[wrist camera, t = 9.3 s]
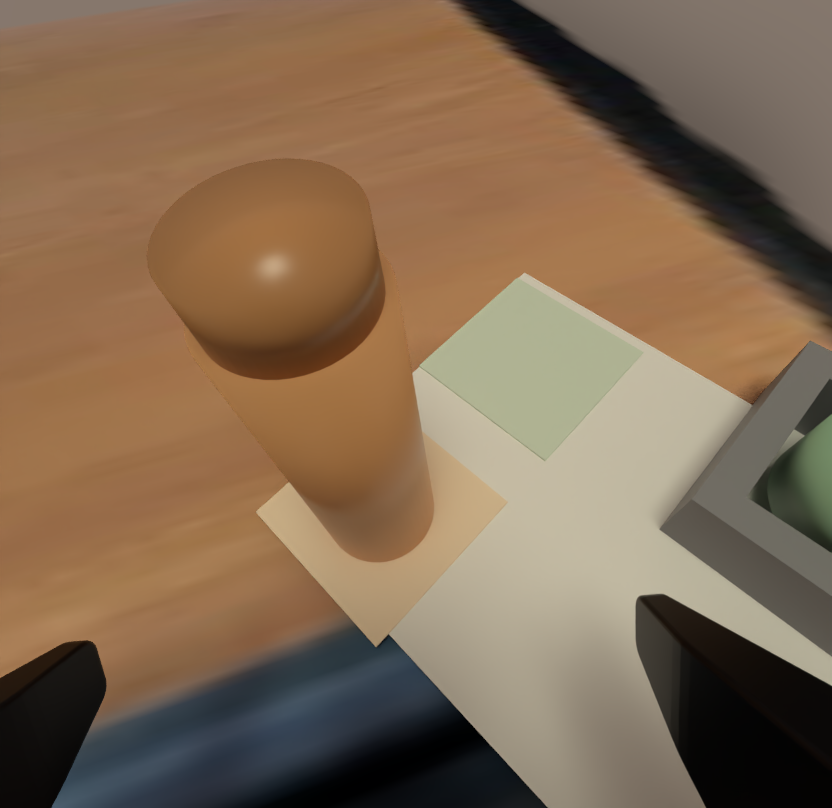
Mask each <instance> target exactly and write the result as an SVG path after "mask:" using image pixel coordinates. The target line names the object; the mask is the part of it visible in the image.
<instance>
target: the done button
mask: <svg viewBox="0 0 832 808" xmlns="http://www.w3.org/2000/svg"><path fill="white" fill-rule="evenodd" d="M767 493H768V500H769V504H770V507H771V511H772V513H773V515H775V516H776V517H778V518H779V519H781V520H782V521H784V522H785V523H787V524H788V525H790V526H791V527H793V528H794V529H796V530H797V531H799V532H800V533H802V534H803V535H805V536H806V537H808V538H810V539H811V540H813V541H814V542H816V543H817V544H819V545H820V546H822V547H823V548H825V549H826V550H828V551H829V552H831V553H832V414H831V415H830V416H829V417H827V418H826V419H825V420H824V421H822V422H821V423H820V424H819V425H817V426H816V427H815V428H814V429H813V430H811V431H810V432H809V433H808V434H806V435H805V436H804V437H803V438H801V439H800V440H799V441H798V442H796V443H795V444H794V445H793V446H792V447H790V448H789V449H788V450H787V451H785V452H784V453H783V454H782V455H781V456H780V457H779V458H778V459H777V460H776V461H775V463H774V465H773V467H772V468H771V471H770V474H769V478H768V484H767Z"/></svg>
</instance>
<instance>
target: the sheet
mask: <svg viewBox="0 0 832 808" xmlns="http://www.w3.org/2000/svg"><path fill="white" fill-rule="evenodd" d="M412 375H413V381H414V387H415V393H416V398H417V404H418V410H419V416H420V422H421V428H422V434H423V440H424V446H425V452H426V458H427V464H428V469H429V475H430V481H431V487H432V493H433V499H434V514H433V519H432V523H431V526H430V528H429V530H428V532H427V534H426V535H425V537H424V539H423V540H422V541H421V542H420V543H419V544H418V545H417V546H416V547H415V548H414V549H413V550H412V551H410V552H409V553H407V554H406V555H404V556H402V557H400V558H397V559H395V560H391V561H387V562H367V561H363V560H360V559H357V558H355V557H353V556H351V555H349V554H348V553H346V552H345V551H344V550H343V549H341V548H340V547H339V545H338V544H337V543H336V542H335V541H334V539H333V538H332V537H331V535H330V534H329V533H328V531H327V530H326V529H325V528H324V526H323V525H322V524H321V522H320V521H319V520H318V519H317V517H316V516H315V515H314V513H313V512H312V511H311V510H310V508H309V507H308V506H307V504H306V503H305V502H304V500H303V499H302V498H301V497H300V495H299V494H298V493H297V491H296V490H295V489H294V488H293V486H292V485H291V484H290V482H289V483H287V484H286V485H285V486H284V487H283V488H282V489H281V490H280V491H278V492H277V493H276V494H275V495H274V496H273V497H272V498H271V499H270V500H268V501H267V502H266V503H265V504H264V505H263V506H262V507H261V508H259V509H258V510H257V511H256V513H257V514H258V515H259V516H260V518H261V519H262V520H263V521H264V522H265V523H266V524H267V525H268V527H269V528H270V529H271V530H272V531H273V532H274V533H275V534H276V536H277V537H278V538H279V539H280V540H281V541H282V542H283V543H284V544H285V546H286V547H287V548H288V549H289V550H290V551H291V552H292V553H293V555H294V556H295V557H296V558H297V559H298V560H299V561H300V562H301V564H302V565H303V566H304V567H305V568H306V569H307V570H308V571H309V573H310V574H311V575H312V576H313V577H314V578H315V579H316V580H317V582H318V583H319V584H320V585H321V586H322V587H323V588H324V589H325V591H326V592H327V593H328V594H329V595H330V596H331V597H332V598H333V599H334V601H335V602H336V603H337V604H338V605H339V606H340V607H341V608H342V610H343V611H344V612H345V613H346V614H347V615H348V616H349V617H350V619H351V620H352V621H353V622H354V623H355V624H356V625H357V626H358V628H359V629H360V630H361V631H362V632H363V633H364V634H365V635H366V637H367V638H368V639H369V640H370V641H371V642H372V643H373V644H374V646H375V647H377V646H378V645H379V644H380V643H381V642H382V641H383V640H384V639H385V638H386V636H387V635H388V634H389V635H390V636H391V637H392V638H393V639H394V640H395V642H396V643H397V644H398V645H399V646H400V647H401V648H402V649H403V650H404V651H405V652H406V654H407V655H408V656H409V657H410V658H411V659H412V660H413V661H414V662H415V663H416V664H417V666H418V667H419V668H420V669H421V670H422V671H423V672H424V673H425V674H426V675H427V676H428V678H429V679H430V680H431V681H432V682H433V683H434V684H435V685H436V686H437V687H438V688H439V690H440V691H441V692H442V693H443V694H444V695H445V696H446V697H447V698H448V699H449V700H450V702H451V703H452V704H453V705H454V706H455V707H456V708H457V709H458V710H459V711H460V712H461V714H462V715H463V716H464V717H465V718H466V719H467V720H468V721H469V722H470V723H471V724H472V726H473V727H474V728H475V729H476V730H477V731H478V732H479V733H480V734H481V735H482V736H483V738H484V739H485V740H486V741H487V742H488V743H489V744H490V745H491V746H492V747H493V748H494V750H495V751H496V752H497V753H498V754H499V755H500V756H501V757H502V758H503V759H504V760H505V762H506V763H507V764H508V765H509V766H510V767H511V768H512V769H513V770H514V771H515V772H516V774H517V775H518V776H519V777H520V778H521V779H522V780H523V781H524V782H525V783H526V784H527V786H528V787H529V788H530V789H531V790H532V791H533V792H534V793H535V794H536V795H537V796H538V798H539V799H540V800H541V801H542V802H543V803H544V804H545V805H546V806H547V807H548V808H706V807H705V805H704V803H703V801H702V799H701V797H700V795H699V793H698V791H697V789H696V787H695V786H694V784H693V782H692V780H691V778H690V776H689V774H688V772H687V770H686V768H685V766H684V764H683V762H682V760H681V758H680V756H679V754H678V751H677V749H676V747H675V744H674V742H673V740H672V737H671V735H670V732H669V730H668V727H667V725H666V722H665V720H664V717H663V715H662V712H661V710H660V707H659V705H658V702H657V700H656V697H655V695H654V692H653V690H652V687H651V685H650V682H649V680H648V677H647V675H646V672H645V670H644V667H643V665H642V662H641V660H640V657H639V654H638V651H637V647H636V639H635V605H636V600H637V598H638V597H639V596H640V595H649V594H665V595H667V596H669V597H671V598H673V599H675V600H676V601H678V602H680V603H682V604H684V605H686V606H687V607H689V608H691V609H693V610H695V611H696V612H698V613H700V614H702V615H704V616H706V617H707V618H709V619H711V620H713V621H715V622H717V623H718V624H720V625H722V626H724V627H726V628H728V629H729V630H731V631H733V632H735V633H737V634H738V635H740V636H742V637H744V638H746V639H748V640H749V641H751V642H753V643H755V644H757V645H759V646H760V647H762V648H764V649H766V650H768V651H770V652H771V653H773V654H775V655H777V656H779V657H780V658H782V659H784V660H786V661H788V662H790V663H791V664H793V665H795V666H797V667H799V668H801V669H802V670H804V671H806V672H808V673H810V674H812V675H813V676H815V677H817V678H819V679H821V680H823V681H824V682H826V683H828V684H830V685H832V553H831V552H829V551H828V550H826V549H825V548H823V547H822V546H820V545H819V544H817V543H816V542H814V541H813V540H811V539H810V538H808V537H806V536H805V535H803V534H802V533H800V532H799V531H797V530H796V529H794V528H793V527H791V526H790V525H788V524H787V523H785V522H784V521H782V520H781V519H779V518H778V517H776V516H775V515H773V513H772V511H771V507H770V504H769V500H768V493H767V484H768V478H769V474H770V471H771V468H772V467H773V465H774V463H775V461H776V460H777V459H778V458H779V457H780V456H781V455H782V454H783V453H784V452H785V451H787V450H788V449H789V448H790V447H792V446H793V445H794V444H795V443H796V442H798V441H799V440H800V439H801V438H803V437H804V436H805V435H806V434H808V433H809V432H810V431H811V430H813V429H814V428H815V427H816V426H817V425H819V424H820V423H821V422H822V421H824V420H825V419H826V418H827V417H829V416H830V415H831V414H832V351H830V350H828V349H826V348H824V347H822V346H820V345H818V344H816V343H814V342H812V341H809V343H808V344H807V345H806V346H805V347H804V348H803V349H802V350H801V351H800V352H799V353H798V354H797V355H796V356H795V358H794V359H793V360H792V361H791V362H790V363H789V364H788V365H787V366H786V367H785V368H784V369H783V370H782V371H781V373H780V374H779V375H778V376H777V377H776V378H775V379H774V380H773V381H772V382H771V383H770V384H769V385H768V386H767V388H766V389H765V390H764V391H763V392H762V393H761V394H760V396H759V397H758V398H757V400H756V401H755V402H754V404H753V405H751V404H750V403H748V402H746V401H744V400H743V399H741V398H739V397H738V396H736V395H734V394H732V393H731V392H729V391H727V390H725V389H724V388H722V387H720V386H719V385H717V384H715V383H713V382H712V381H710V380H708V379H707V378H705V377H703V376H701V375H700V374H698V373H696V372H694V371H693V370H691V369H689V368H688V367H686V366H684V365H682V364H681V363H679V362H677V361H676V360H674V359H672V358H670V357H669V356H667V355H665V354H663V353H662V352H660V351H658V350H657V349H655V348H653V347H651V346H650V345H648V344H646V343H645V342H643V341H641V340H639V339H638V338H636V337H634V336H632V335H631V334H629V333H627V332H626V331H624V330H622V329H620V328H619V327H617V326H615V325H614V324H612V323H610V322H608V321H607V320H605V319H603V318H601V317H600V316H598V315H596V314H595V313H593V312H591V311H589V310H588V309H586V308H584V307H583V306H581V305H579V304H577V303H576V302H574V301H572V300H570V299H569V298H567V297H565V296H564V295H562V294H560V293H558V292H557V291H555V290H553V289H552V288H550V287H548V286H546V285H545V284H543V283H541V282H539V281H538V280H536V279H534V278H533V277H531V276H529V275H527V274H526V273H524V274H523V275H521V276H520V277H519V278H516V279H515V280H514V281H513V282H512V283H511V284H510V285H509V286H507V287H506V288H505V289H504V290H503V291H502V292H501V293H500V294H498V295H497V296H496V297H495V298H494V299H493V300H492V301H491V302H490V303H488V304H487V305H486V306H485V307H484V308H483V309H482V310H481V311H480V312H478V313H477V314H476V315H475V316H474V317H473V318H472V319H471V320H469V321H468V322H467V323H466V324H465V325H464V326H463V327H462V328H461V329H459V330H458V331H457V332H456V333H455V334H454V335H453V336H452V337H450V338H449V339H448V340H447V341H446V342H445V343H444V344H443V345H442V346H440V347H439V348H438V349H437V350H436V351H435V352H434V353H433V354H431V355H430V356H429V357H428V358H427V359H426V360H425V361H424V362H423V363H421V364H420V365H419V368H418V369H417V370H415V371H414V372H413V373H412Z"/></svg>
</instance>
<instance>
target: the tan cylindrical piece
mask: <svg viewBox="0 0 832 808" xmlns="http://www.w3.org/2000/svg"><path fill="white" fill-rule="evenodd" d="M147 262H148V268H149V271H150V275H151V277H152V279H153V280H154V282H155V284H156V285H157V287H158V288H159V289H160V291H161V292H162V294H163V295H164V296H165V298H166V299H167V300H168V302H169V303H170V305H171V306H172V307H173V309H174V310H175V311H176V313H177V314H178V316H179V317H180V318H181V320H182V321H183V322H184V334H185V340H186V343H187V346H188V349H189V351H190V353H191V355H192V356H193V358H194V360H195V361H196V362H197V364H198V365H199V366H200V367H201V369H202V370H203V371H204V373H205V374H206V375H207V377H208V378H209V379H210V380H211V382H212V383H213V384H214V386H215V387H216V388H217V389H218V391H219V392H220V393H221V395H222V396H223V397H224V398H225V400H226V401H227V402H228V404H229V405H230V406H231V408H232V409H233V410H234V411H235V413H236V414H237V415H238V417H239V418H240V419H241V420H242V422H243V423H244V424H245V426H246V427H247V428H248V429H249V431H250V432H251V433H252V435H253V436H254V437H255V438H256V440H257V441H258V442H259V444H260V445H261V446H262V448H263V449H264V450H265V451H266V453H267V454H268V455H269V457H270V458H271V459H272V460H273V462H274V463H275V464H276V466H277V467H278V468H279V469H280V471H281V472H282V473H283V475H284V476H285V477H286V479H287V480H288V481H289V482H290V484H291V485H292V486H293V488H294V489H295V490H296V491H297V493H298V494H299V495H300V497H301V498H302V499H303V500H304V502H305V503H306V504H307V506H308V507H309V508H310V510H311V511H312V512H313V513H314V515H315V516H316V517H317V519H318V520H319V521H320V522H321V524H322V525H323V526H324V528H325V529H326V530H327V531H328V533H329V534H330V535H331V537H332V538H333V539H334V541H335V542H336V543H337V544H338V545H339V547H340V548H341V549H343V550H344V551H345V552H346V553H348V554H349V555H351V556H353V557H355V558H357V559H360V560H363V561H367V562H387V561H391V560H395V559H397V558H400V557H402V556H404V555H406V554H407V553H409V552H410V551H412V550H413V549H414V548H415V547H416V546H417V545H418V544H419V543H420V542H421V541H422V540H423V539H424V537H425V535H426V534H427V532H428V530H429V528H430V526H431V523H432V519H433V514H434V499H433V493H432V487H431V481H430V475H429V469H428V464H427V458H426V452H425V446H424V440H423V434H422V428H421V422H420V416H419V410H418V404H417V398H416V393H415V387H414V381H413V375H412V369H411V363H410V357H409V351H408V345H407V339H406V333H405V327H404V321H403V316H402V310H401V304H400V298H399V292H398V286H397V281H396V277H395V273H394V271H393V269H392V267H391V264H390V263H389V261H388V260H387V258H386V257H385V256H384V255H383V253H382V252H381V251H380V250H379V249H378V246H377V241H376V236H375V231H374V226H373V221H372V215H371V210H370V206H369V202H368V199H367V197H366V195H365V193H364V191H363V189H362V188H361V187H360V185H359V184H358V183H357V182H356V181H355V180H354V179H353V178H352V177H350V176H349V175H347V174H346V173H344V172H343V171H341V170H339V169H337V168H335V167H333V166H330V165H327V164H324V163H320V162H316V161H311V160H303V159H272V160H265V161H259V162H254V163H249V164H245V165H242V166H238V167H235V168H232V169H230V170H227V171H224V172H222V173H220V174H217V175H215V176H213V177H211V178H209V179H207V180H205V181H204V182H202V183H200V184H198V185H197V186H195V187H194V188H192V189H191V190H189V191H188V192H187V193H185V194H184V195H183V196H182V197H180V198H179V199H178V200H177V201H176V202H175V203H174V204H173V205H172V206H171V207H170V208H169V209H168V210H167V211H166V212H165V214H164V215H163V216H162V217H161V219H160V220H159V222H158V223H157V225H156V227H155V229H154V231H153V233H152V235H151V238H150V241H149V245H148V251H147Z"/></svg>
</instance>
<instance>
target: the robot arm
mask: <svg viewBox="0 0 832 808" xmlns="http://www.w3.org/2000/svg"><path fill="white" fill-rule="evenodd" d="M635 639H636V647H637V651H638V654H639V657H640V660H641V662H642V665H643V667H644V670H645V672H646V675H647V677H648V680H649V682H650V685H651V687H652V690H653V692H654V695H655V697H656V700H657V702H658V705H659V707H660V710H661V712H662V715H663V717H664V720H665V722H666V725H667V727H668V730H669V732H670V735H671V737H672V740H673V742H674V744H675V747H676V749H677V751H678V754H679V756H680V758H681V760H682V762H683V764H684V766H685V768H686V770H687V772H688V774H689V776H690V778H691V780H692V782H693V784H694V786H695V787H696V789H697V791H698V793H699V795H700V797H701V799H702V801H703V803H704V805H705V807H706V808H832V685H830V684H828V683H826V682H824V681H823V680H821V679H819V678H817V677H815V676H813V675H812V674H810V673H808V672H806V671H804V670H802V669H801V668H799V667H797V666H795V665H793V664H791V663H790V662H788V661H786V660H784V659H782V658H780V657H779V656H777V655H775V654H773V653H771V652H770V651H768V650H766V649H764V648H762V647H760V646H759V645H757V644H755V643H753V642H751V641H749V640H748V639H746V638H744V637H742V636H740V635H738V634H737V633H735V632H733V631H731V630H729V629H728V628H726V627H724V626H722V625H720V624H718V623H717V622H715V621H713V620H711V619H709V618H707V617H706V616H704V615H702V614H700V613H698V612H696V611H695V610H693V609H691V608H689V607H687V606H686V605H684V604H682V603H680V602H678V601H676V600H675V599H673V598H671V597H669V596H667V595H665V594H649V595H640V596H639V597H638V598H637V600H636V605H635ZM105 692H106V678H105V674H104V671H103V668H102V664H101V661H100V658H99V654H98V651H97V648H96V645H95V644H94V643H93V642H91V641H88V640H86V641H73V642H66V643H63V644H61V645H59V646H57V647H56V648H54V649H52V650H50V651H48V652H47V653H45V654H43V655H41V656H39V657H38V658H36V659H34V660H32V661H30V662H28V663H27V664H25V665H23V666H21V667H19V668H18V669H16V670H14V671H12V672H10V673H9V674H7V675H5V676H3V677H1V678H0V808H51V807H52V805H53V803H54V801H55V800H56V798H57V796H58V794H59V792H60V790H61V788H62V786H63V784H64V782H65V780H66V778H67V775H68V773H69V771H70V769H71V767H72V765H73V763H74V760H75V758H76V756H77V754H78V752H79V750H80V748H81V745H82V743H83V741H84V739H85V737H86V735H87V733H88V731H89V728H90V726H91V724H92V722H93V720H94V718H95V716H96V713H97V711H98V709H99V707H100V705H101V703H102V701H103V698H104V696H105Z"/></svg>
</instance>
